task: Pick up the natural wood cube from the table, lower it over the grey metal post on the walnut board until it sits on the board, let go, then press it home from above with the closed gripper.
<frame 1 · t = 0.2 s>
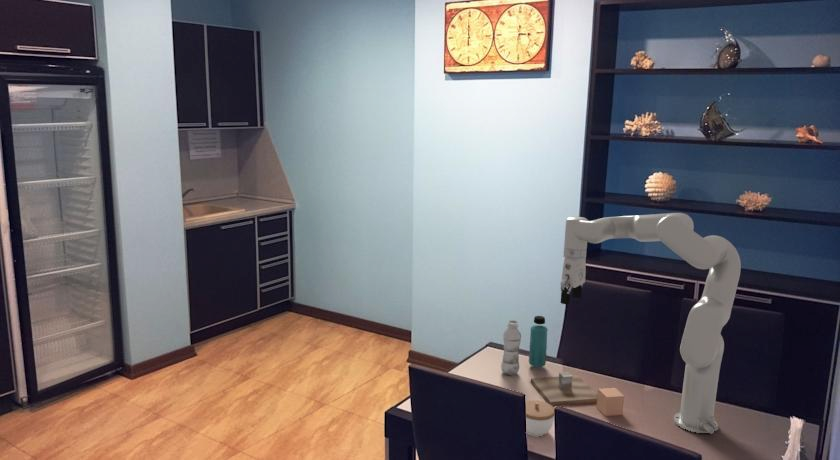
hand: (571, 300, 216), 31 cm above the table, tool pointing down, fingers open, 9 cm apart
natural wood cube: (609, 410, 202), on the table
plastic bottle: (509, 374, 229), on the table
lidded jar: (535, 432, 188), on the table
post board: (564, 391, 215), on the table
beverage bottle: (536, 367, 235), on the table
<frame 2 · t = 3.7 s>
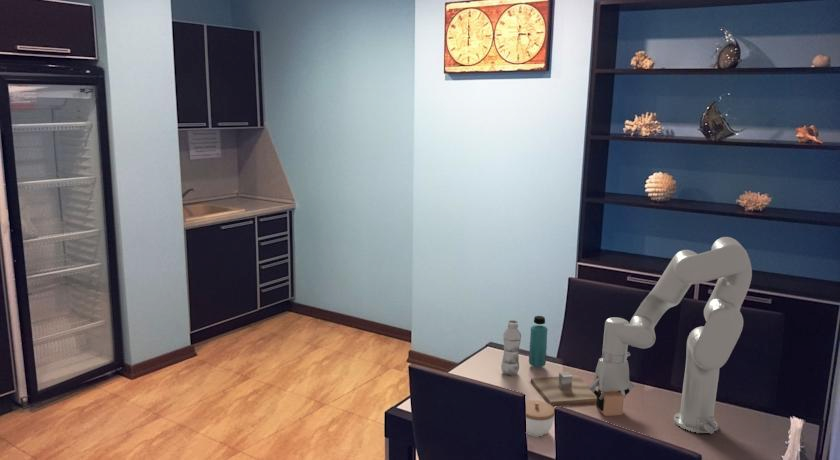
hand: (609, 407, 202), 1 cm above the table, tool pointing down, fingers closed on natural wood cube, 6 cm apart
natural wood cube: (609, 410, 202), on the table, touching gripper
everything else where it was.
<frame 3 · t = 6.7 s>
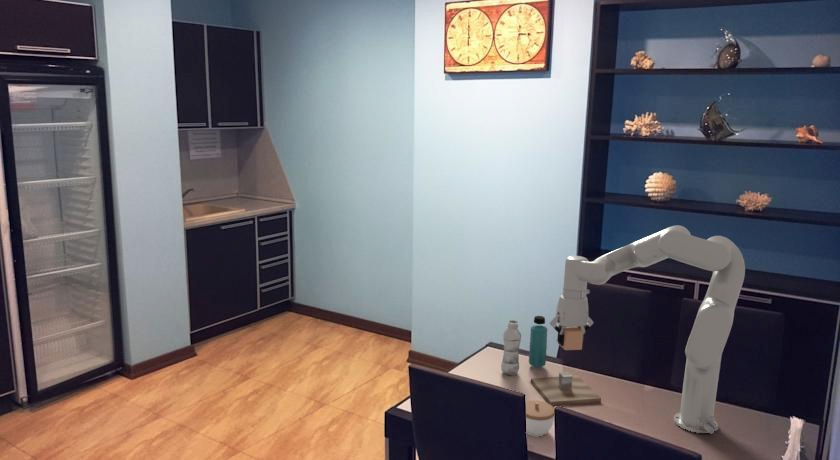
hand: (569, 343, 211), 18 cm above the table, tool pointing down, fingers closed on natural wood cube, 5 cm apart
natural wood cube: (569, 346, 211), point 17 cm above the table, touching gripper
everything else where it was.
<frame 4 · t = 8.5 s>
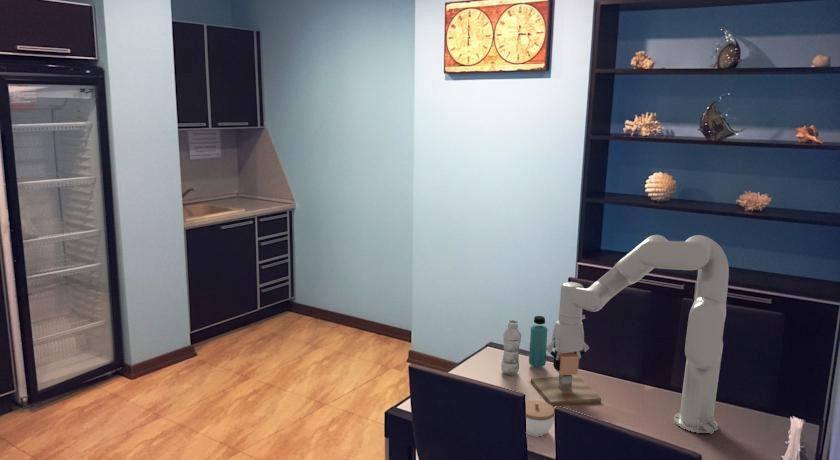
hand: (565, 368, 213), 9 cm above the table, tool pointing down, fingers closed on natural wood cube, 5 cm apart
natural wood cube: (565, 371, 213), point 8 cm above the table, touching gripper
everything else where it was.
when the fingers open (4 cm above the table, at t = 10.0 s): natural wood cube stays where it is, resting on post board.
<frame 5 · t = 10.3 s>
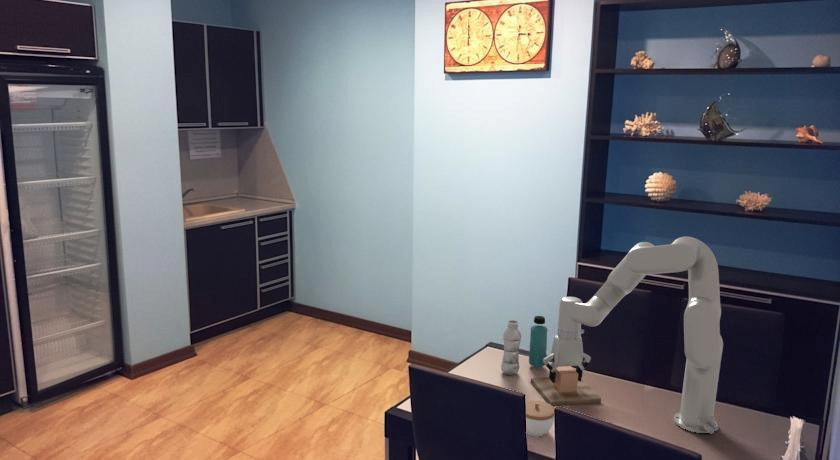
hand: (565, 380, 214), 4 cm above the table, tool pointing down, fingers open, 9 cm apart
natural wood cube: (565, 387, 214), point 1 cm above the table, touching post board
everything else where it was.
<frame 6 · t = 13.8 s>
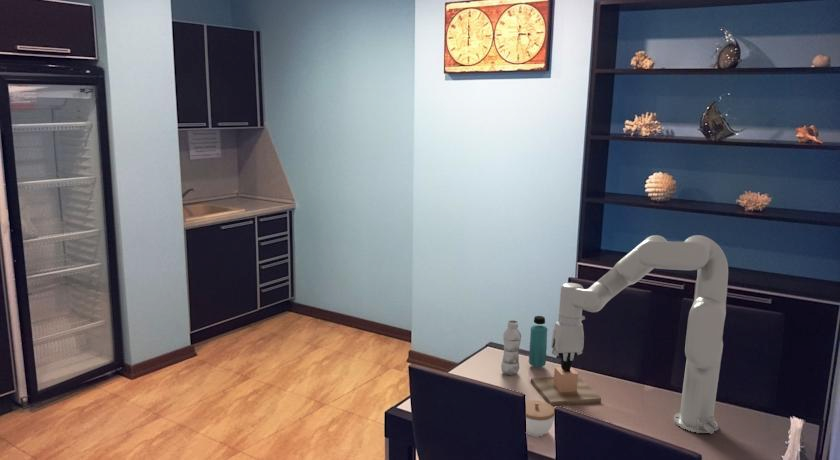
hand: (565, 370, 213), 8 cm above the table, tool pointing down, fingers closed
natural wood cube: (565, 387, 214), point 1 cm above the table, touching gripper, post board
everything else where it was.
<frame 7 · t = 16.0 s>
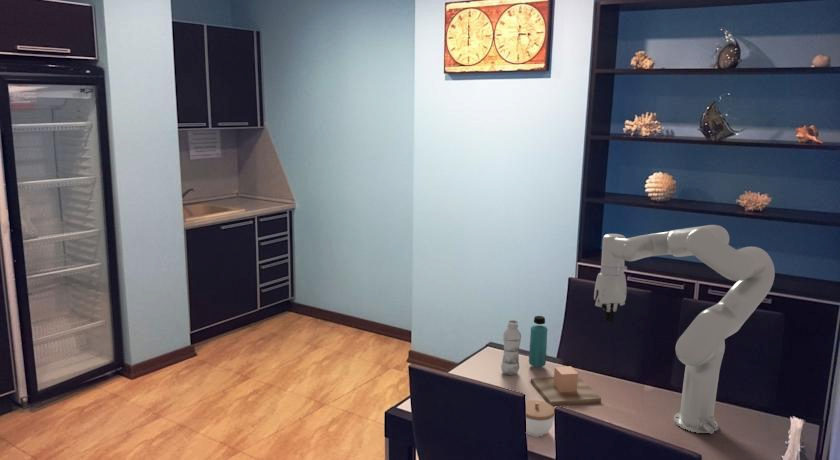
hand: (608, 321, 214), 24 cm above the table, tool pointing down, fingers closed
natural wood cube: (565, 387, 214), point 1 cm above the table, touching post board
everything else where it was.
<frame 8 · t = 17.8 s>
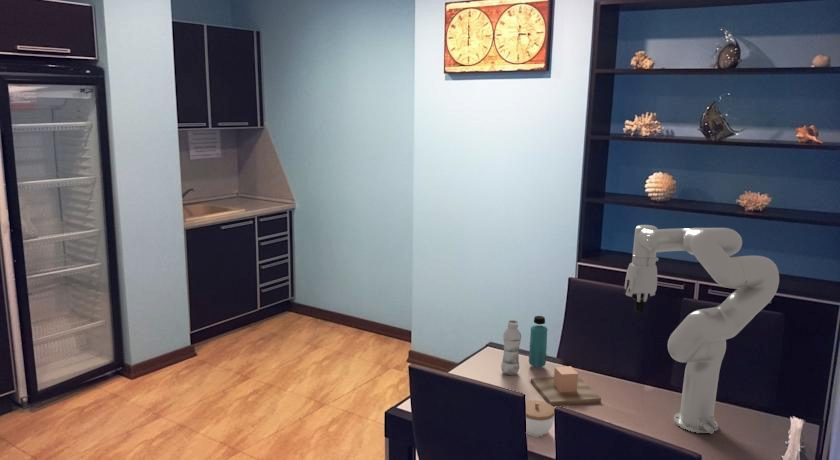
hand: (638, 311, 217), 27 cm above the table, tool pointing down, fingers closed
nothing on the table moved.
at the end: natural wood cube 0.1 cm from the post board (horizontally); natural wood cube point 1.5 cm above the table; natural wood cube tilted 0° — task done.
